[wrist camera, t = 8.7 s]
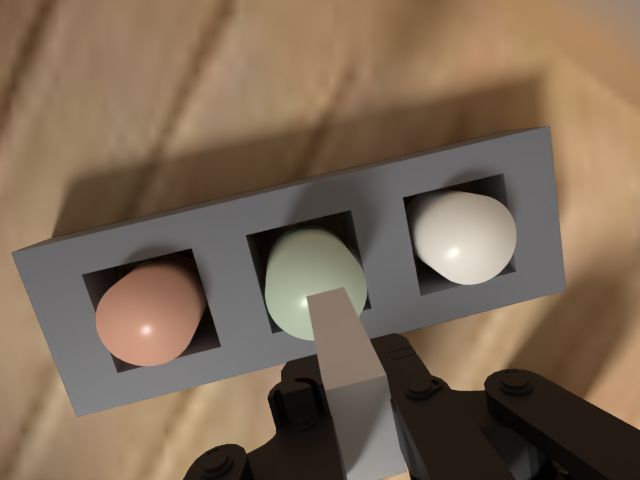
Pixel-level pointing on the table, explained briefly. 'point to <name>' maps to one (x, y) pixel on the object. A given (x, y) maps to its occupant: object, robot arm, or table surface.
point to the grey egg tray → (247, 276)
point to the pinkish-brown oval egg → (152, 311)
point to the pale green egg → (309, 276)
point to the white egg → (461, 234)
